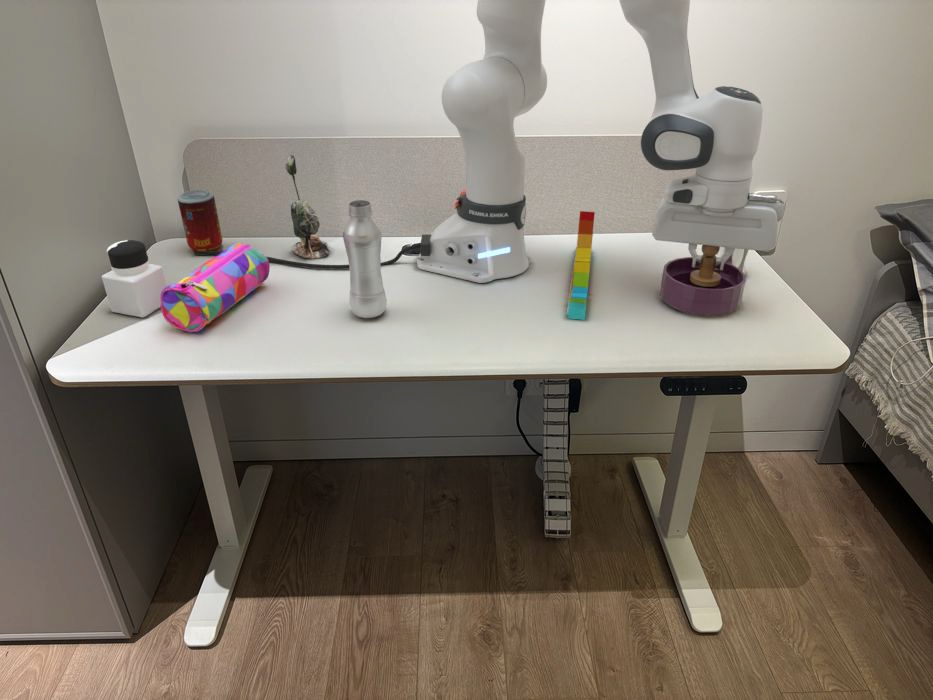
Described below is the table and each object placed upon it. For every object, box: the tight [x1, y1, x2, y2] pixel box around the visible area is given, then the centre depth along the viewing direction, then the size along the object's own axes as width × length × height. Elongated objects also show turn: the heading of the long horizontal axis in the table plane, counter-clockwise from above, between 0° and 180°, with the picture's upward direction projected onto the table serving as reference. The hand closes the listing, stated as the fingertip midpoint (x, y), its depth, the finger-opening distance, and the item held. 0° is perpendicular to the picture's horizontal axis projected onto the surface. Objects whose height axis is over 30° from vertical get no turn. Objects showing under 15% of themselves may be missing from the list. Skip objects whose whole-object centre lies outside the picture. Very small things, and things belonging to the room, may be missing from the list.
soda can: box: [177, 189, 223, 256], centre depth 144 cm, size 7×7×12 cm
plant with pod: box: [284, 154, 331, 260], centre depth 140 cm, size 8×11×20 cm
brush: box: [690, 245, 721, 289], centre depth 122 cm, size 5×5×9 cm
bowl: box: [659, 256, 747, 317], centre depth 125 cm, size 14×14×6 cm
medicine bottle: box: [101, 239, 168, 319], centre depth 122 cm, size 7×7×12 cm
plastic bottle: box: [342, 199, 388, 319], centre depth 117 cm, size 6×7×20 cm
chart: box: [566, 210, 596, 321], centre depth 129 cm, size 30×3×15 cm, turn 169°
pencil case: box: [160, 242, 271, 333], centre depth 122 cm, size 22×9×9 cm, turn 163°
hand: (707, 267), depth 123 cm, fingers closed on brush, 2 cm apart
